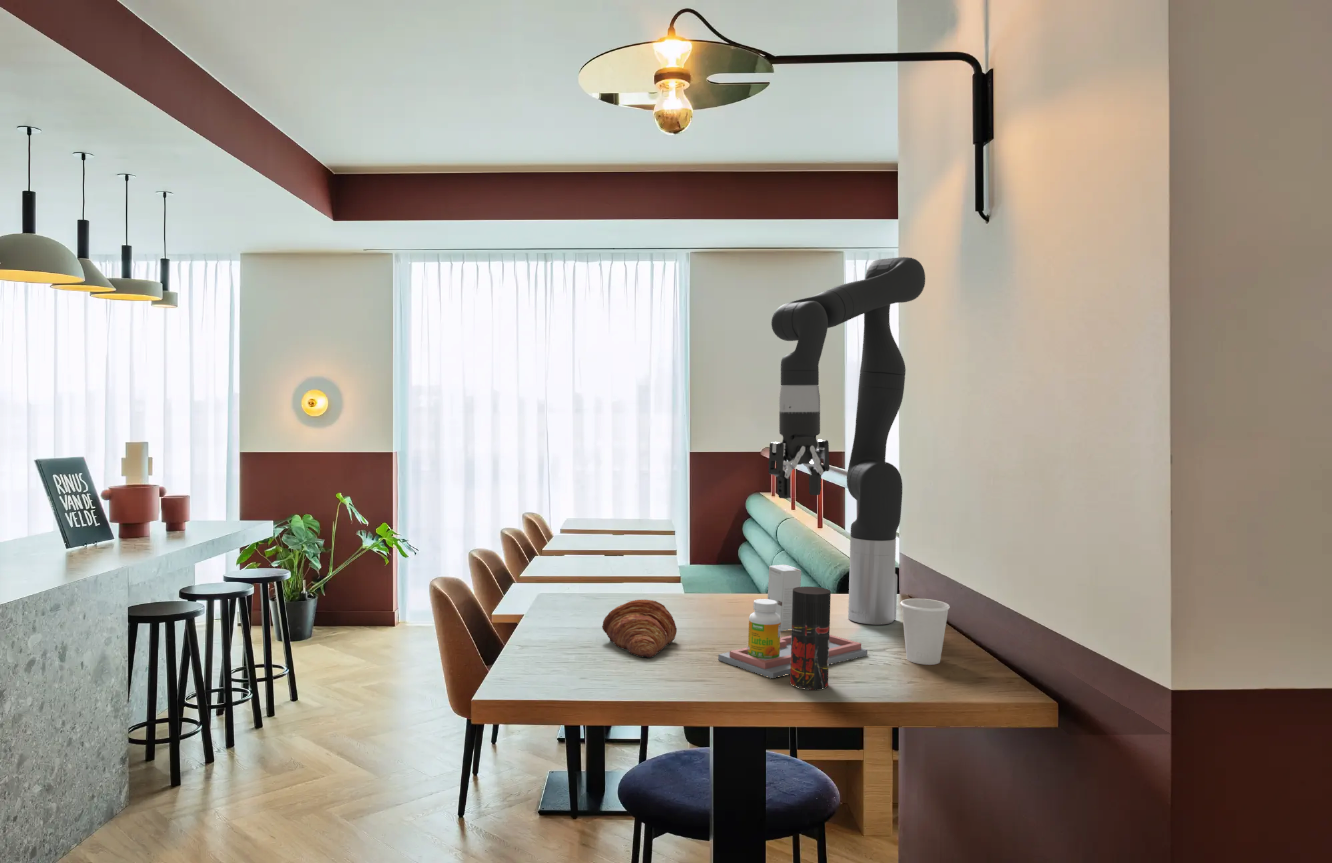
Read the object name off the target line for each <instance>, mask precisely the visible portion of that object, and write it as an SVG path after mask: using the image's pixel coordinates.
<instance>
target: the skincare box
mask: <svg viewBox="0 0 1332 863" xmlns="http://www.w3.org/2000/svg"><path fill="white" fill-rule="evenodd" d="M801 582H802V570H801V569H798V568H797V567H794V566H790V565H788V564H776V565H775V564H773V565H769V567H768V582H767V583H768V586H767V599H770V600H774V601H776V602H777V611H776V614H778V615H779V616H780V618H781V628H780V632H784V631H783V630H788V629H792V595H793V588H796V587H802V586H801V585H802V583H801Z"/></svg>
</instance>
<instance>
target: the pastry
mask: <svg viewBox="0 0 1332 863" xmlns="http://www.w3.org/2000/svg"><path fill="white" fill-rule="evenodd" d="M601 627H602V628H601V629H602V630H603V632H604V633H605V634H606V636H607V637H608V639H609V640H610V642H612V643H613V644H614V645H615V646H616V647H617V648H620V649H622V650H625V651H627V652H628V653H629V654H631V655H634V656H637V657H638V658H648V659H651V658H654V657H655V656H656V655H657V654H659V653H660V652H662V651H663V649H664V648H665V647H666V646H668V645H671V643H672V642H673V641H674V640H675V638H676V636H677V631H678V629H677V625H676V622H675V620H674V617H673V615H672V614H671V612H670V611H669V610H668V609H667V608H666V606H665V605H664V604H662V603H660V602H658V601H657V600H653V599H652V600H651V599H635V600H631V601H627V602H625V603H623V604H620V605H619V606H616V607H615V608H614V609H612V610H611V611H610V612H608V614H607V615H606V616H605V617H604V619H603V622H602V626H601Z"/></svg>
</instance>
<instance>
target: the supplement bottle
mask: <svg viewBox="0 0 1332 863" xmlns="http://www.w3.org/2000/svg"><path fill="white" fill-rule="evenodd" d="M753 610H754V612H752V613H750V615H749V618H748V634H747V635H748V639H747V640H748V641H747V642H748V643H747V644H748V645H747V647H748V655H750V656H753V657H756V658H759V659H762V660H765V661H766V660H770V659H774V658H779V656H780V638H781V631H780V628H781V618H780V616H779V615H778V614H776V611H777V602H776V601H774V600H770V599H768V598H757V599H754V600H753Z"/></svg>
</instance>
